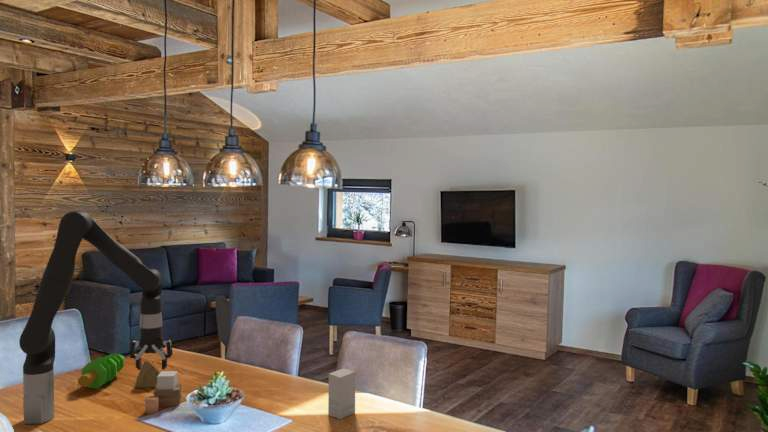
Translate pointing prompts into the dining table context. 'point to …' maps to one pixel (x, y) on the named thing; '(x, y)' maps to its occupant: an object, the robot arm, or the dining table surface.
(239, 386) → the dining table surface
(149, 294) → the robot arm
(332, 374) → the skincare box
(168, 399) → the walnut block
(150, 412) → the pinkish tan cube
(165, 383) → the grey block
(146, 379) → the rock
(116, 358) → the decorative tree
